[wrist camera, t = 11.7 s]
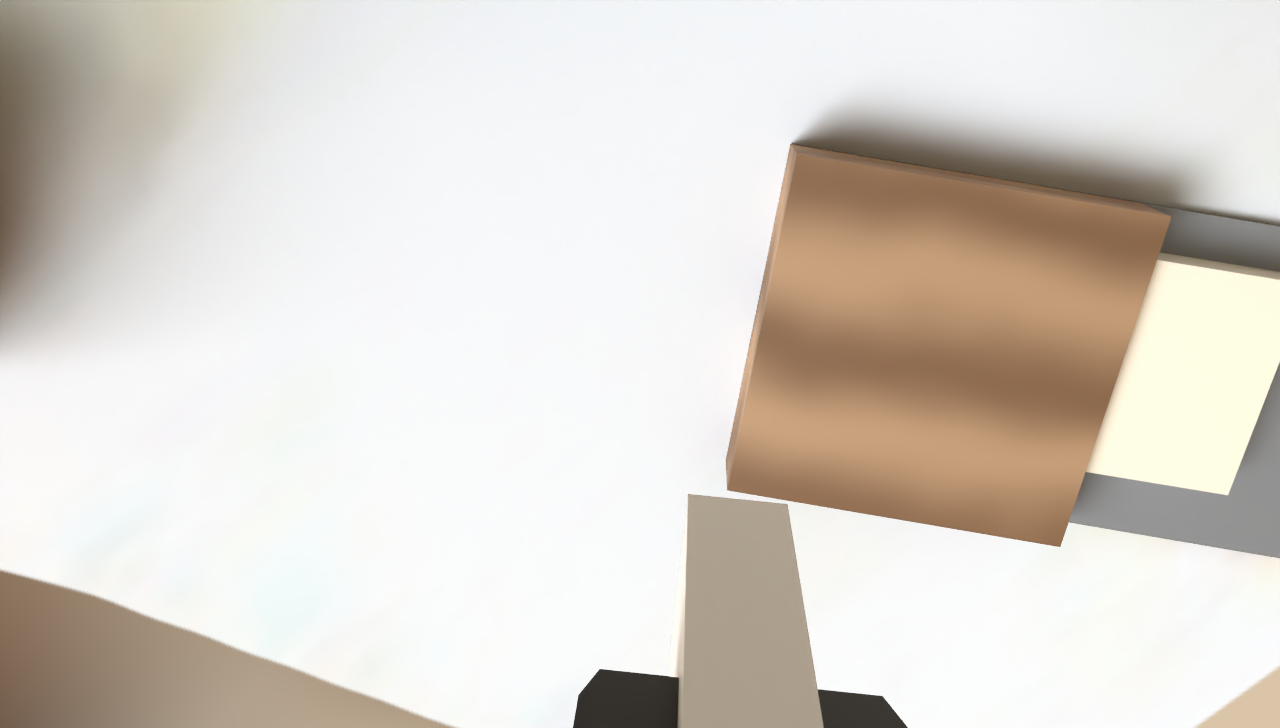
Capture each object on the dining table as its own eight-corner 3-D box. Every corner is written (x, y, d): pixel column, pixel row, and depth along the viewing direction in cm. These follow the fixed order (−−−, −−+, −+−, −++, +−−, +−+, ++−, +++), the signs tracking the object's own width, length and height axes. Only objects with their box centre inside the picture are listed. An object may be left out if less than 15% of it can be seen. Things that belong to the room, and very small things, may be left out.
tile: (1131, 247, 40) (1153, 259, 38) (1281, 272, 40) (1309, 284, 38) (1066, 451, 43) (1082, 471, 41) (1204, 474, 43) (1227, 495, 41)
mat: (1139, 202, 40) (1142, 203, 40) (1413, 248, 40) (1420, 250, 40) (1037, 513, 45) (1040, 517, 44) (1283, 555, 45) (1288, 559, 44)
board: (790, 143, 40) (796, 153, 37) (1139, 202, 40) (1171, 216, 37) (725, 460, 45) (727, 490, 42) (1037, 513, 45) (1060, 546, 42)
